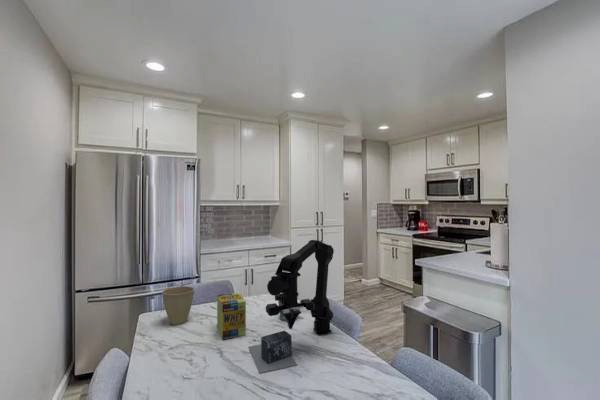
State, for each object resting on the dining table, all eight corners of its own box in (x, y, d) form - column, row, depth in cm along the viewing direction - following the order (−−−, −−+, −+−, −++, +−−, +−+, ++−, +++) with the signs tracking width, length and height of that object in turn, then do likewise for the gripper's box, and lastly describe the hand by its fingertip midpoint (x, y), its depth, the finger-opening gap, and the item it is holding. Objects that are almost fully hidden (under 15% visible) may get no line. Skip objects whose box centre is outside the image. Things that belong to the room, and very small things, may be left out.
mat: (281, 341, 123) (281, 340, 123) (297, 365, 105) (297, 364, 105) (248, 347, 118) (248, 346, 118) (259, 373, 99) (259, 373, 99)
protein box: (222, 340, 124) (222, 304, 124) (217, 327, 138) (216, 294, 138) (246, 336, 128) (246, 301, 129) (238, 323, 142) (238, 291, 143)
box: (292, 355, 111) (267, 364, 105) (284, 349, 115) (260, 357, 110) (292, 335, 111) (267, 342, 105) (284, 329, 116) (260, 336, 110)
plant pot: (197, 323, 143) (197, 291, 143) (165, 331, 134) (165, 296, 135) (190, 314, 155) (190, 284, 155) (159, 320, 147) (159, 289, 147)
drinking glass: (301, 317, 149) (301, 294, 149) (290, 324, 140) (290, 299, 141) (285, 313, 154) (285, 291, 155) (273, 320, 146) (273, 296, 146)
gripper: (304, 281, 125) (304, 318, 125) (262, 286, 119) (262, 324, 118) (314, 288, 115) (315, 328, 115) (269, 294, 108) (269, 336, 108)
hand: (290, 328), depth 114 cm, fingers closed
